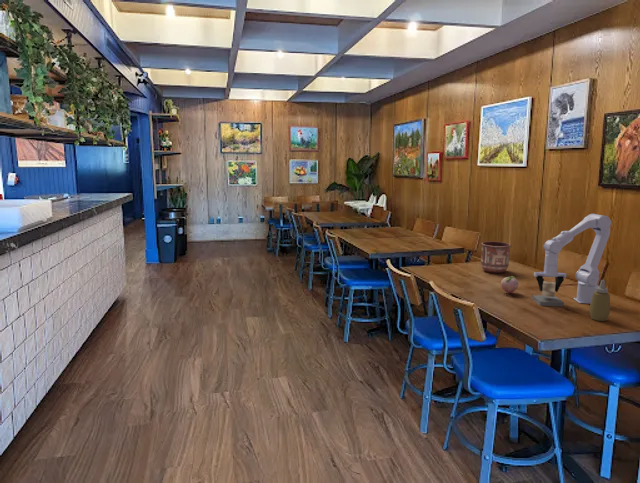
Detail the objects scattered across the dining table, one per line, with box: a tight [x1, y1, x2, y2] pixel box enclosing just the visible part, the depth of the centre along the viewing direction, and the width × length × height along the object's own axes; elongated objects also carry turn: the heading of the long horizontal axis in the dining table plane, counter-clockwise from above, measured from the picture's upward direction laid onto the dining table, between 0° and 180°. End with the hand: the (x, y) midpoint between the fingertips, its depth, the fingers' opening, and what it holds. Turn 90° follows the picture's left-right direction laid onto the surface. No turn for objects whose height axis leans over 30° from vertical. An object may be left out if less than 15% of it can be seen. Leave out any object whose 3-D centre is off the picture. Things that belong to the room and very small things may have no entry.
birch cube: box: [541, 280, 556, 297], centre depth 229 cm, size 6×6×6 cm
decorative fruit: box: [500, 275, 519, 294], centre depth 244 cm, size 9×8×10 cm
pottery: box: [480, 240, 511, 274], centre depth 292 cm, size 18×18×18 cm
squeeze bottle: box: [588, 279, 611, 322], centre depth 204 cm, size 8×8×18 cm
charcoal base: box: [531, 294, 565, 307], centre depth 230 cm, size 11×11×2 cm
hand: (548, 291), depth 229 cm, fingers closed on birch cube, 7 cm apart
